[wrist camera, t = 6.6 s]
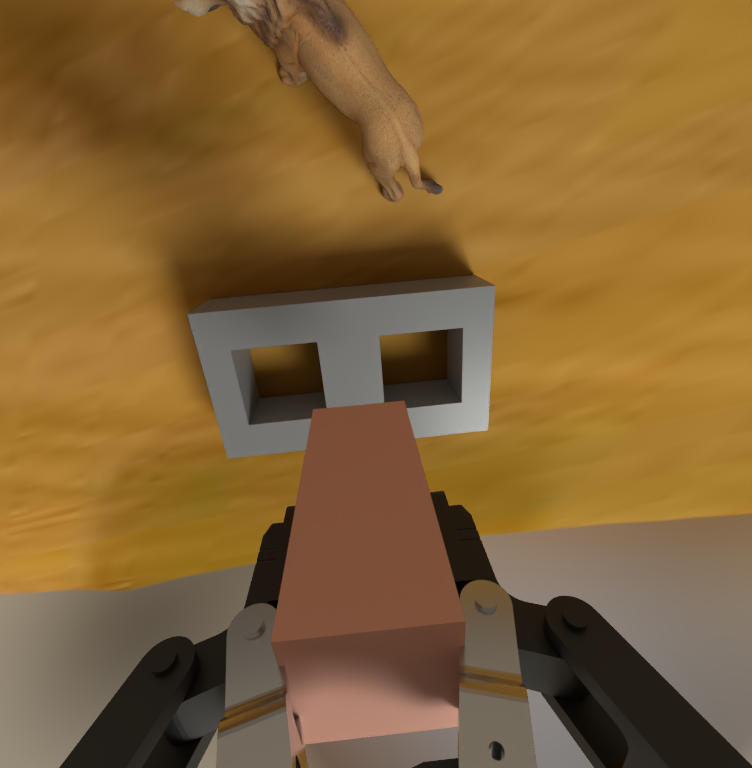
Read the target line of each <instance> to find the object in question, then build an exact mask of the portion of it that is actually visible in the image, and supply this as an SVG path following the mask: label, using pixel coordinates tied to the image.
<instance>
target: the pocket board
mask: <svg viewBox="0 0 752 768" xmlns="http://www.w3.org/2000/svg"><path fill="white" fill-rule="evenodd" d="M494 303H495V285H493V284H491V283H489V282H487V281H485V280H483V279H481V278H480V277H478V276H476V275H468V276H457V277H446V278H435V279H424V280H414V281H403V282H392V283H381V284H370V285H359V286H348V287H337V288H326V289H316V290H305V291H294V292H283V293H272V294H261V295H250V296H239V297H228V298H218V299H208V300H207V301H205V302H204V303H203V304H201V305H200V306H198V307H197V308H195V309H194V310H193V311H191V312H190V313H188V314H187V315H188V319H189V323H190V326H191V330H192V333H193V337H194V340H195V344H196V347H197V351H198V354H199V358H200V362H201V365H202V369H203V372H204V376H205V379H206V383H207V386H208V390H209V393H210V397H211V400H212V404H213V408H214V411H215V415H216V418H217V422H218V425H219V429H220V432H221V436H222V439H223V443H224V447H225V450H226V454H227V457H228V459H229V458H238V457H247V456H256V455H265V454H274V453H283V452H293V451H302V450H306V446H307V440H308V435H309V429H310V424H311V418H312V413H313V409H322V408H332V407H343V406H353V405H364V404H374V403H385V402H395V401H405V405H406V408H407V412H408V416H409V419H410V423H411V426H412V430H413V434H414V437H415V438H420V437H429V436H438V435H447V434H457V433H466V432H475V431H484V430H488V419H489V399H490V380H491V361H492V342H493V323H494ZM445 329H447V379H440V380H430V381H420V382H411V383H401V384H391V385H383V379H382V365H381V352H380V338H379V336H384V335H394V334H404V333H415V332H425V331H435V330H445ZM312 342H317V345H318V352H319V359H320V366H321V373H322V380H323V387H324V392H314V393H304V394H295V395H285V396H275V397H266V398H260V396H259V391H258V387H257V382H256V378H255V373H254V369H253V364H252V360H251V355H250V351H249V349H251V348H261V347H271V346H282V345H292V344H302V343H312Z"/></svg>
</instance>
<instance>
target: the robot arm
mask: <svg viewBox="0 0 752 768" xmlns="http://www.w3.org/2000/svg"><path fill="white" fill-rule="evenodd" d="M430 495H431V498H432V502H433V505H434V509H435V513H436V516H437V520H438V523H439V527H440V531H441V534H442V538H443V541H444V545H445V549H446V552H447V556H448V559H449V563H450V567H451V570H452V574H453V577H454V581H455V585H456V588H457V592H458V595H459V599H460V603H461V606H462V610H463V613H464V617H465V621H466V627H465V646H459V698H458V758H456V759H447V760H438V761H429V762H423V763H421V764H419V765H417V766H415V767H413V768H537V764H536V756H535V748H534V740H533V733H532V725H531V717H530V710H529V702H528V696H527V691H526V689H530V690H534V691H538V692H541V694H542V695H543V697H544V698H545V699H546V701H547V702H548V704H549V705H550V706H551V708H552V709H553V711H554V712H555V713H556V715H557V716H558V718H559V719H560V720H561V722H562V723H563V725H564V726H565V727H566V729H567V730H568V731H569V733H570V734H571V736H572V737H573V739H574V740H575V741H576V743H577V744H578V746H579V747H580V748H581V750H582V751H583V753H584V754H585V755H586V757H587V758H588V760H589V761H590V762H591V764H592V765H593V766H594V768H752V765H751V764H750V763H749V762H748V761H746V760H745V758H743V756H742V755H741V754H740V753H739V752H738V751H737V750H736V749H735V748H734V747H732V746H731V744H730V743H729V742H727V741H726V739H725V738H724V737H723V736H722V735H720V733H718V731H716V730H715V729H714V728H713V727H712V726H711V725H710V724H709V723H708V722H707V721H706V720H705V719H704V718H703V717H702V716H701V715H700V714H699V713H698V712H697V711H696V710H695V709H694V708H693V707H692V706H691V705H690V704H689V703H688V702H687V701H686V700H685V699H684V698H683V697H682V696H681V695H680V694H679V693H678V692H677V691H676V690H675V689H674V688H673V687H672V686H671V685H670V684H669V683H668V682H667V681H666V680H665V679H664V678H663V677H662V676H661V675H660V674H659V673H658V672H657V671H656V670H655V669H654V668H653V667H652V666H651V665H650V664H649V663H648V662H647V661H646V660H645V659H644V658H643V657H642V656H641V655H640V654H639V653H638V652H637V651H636V650H635V649H634V648H633V647H632V646H631V645H630V644H629V643H628V642H627V641H626V640H625V639H624V638H623V637H622V636H621V635H620V634H619V633H618V632H617V631H616V630H615V629H614V628H613V627H612V626H611V625H610V624H609V623H608V622H607V621H606V620H605V619H604V618H603V617H602V616H601V615H600V614H599V613H598V612H597V611H596V610H595V609H593V607H592V606H590V605H589V604H588V603H586V602H584V601H582V600H580V599H578V598H575V597H571V596H559V597H556V598H553V599H552V600H551V601H550V602H549V603H548V604H547V606H543V605H538V604H533V603H528V602H524V601H521V600H518V599H516V598H514V597H512V596H511V595H509V594H508V593H507V592H506V591H505V590H504V589H503V588H502V587H501V586H500V585H499V583H498V582H497V580H496V577H495V575H494V572H493V570H492V567H491V565H490V562H489V559H488V557H487V554H486V552H485V549H484V547H483V544H482V542H481V540H480V536H479V534H478V531H477V530H476V526H475V524H474V521H473V518H472V516H471V514H470V513H469V512H468V511H467V510H466V509H465V508H464V507H463V506H462V505H454V506H449V505H448V502H447V499H446V496H445V493H444V491H438V492H430ZM294 512H295V506H288V507H287V509H286V513H285V518H284V523H275V524H272V525H271V526H270V528H269V529H268V530H267V532H266V533H265V534H264V536H263V539H262V543H261V546H260V552H259V554H258V558H257V564H256V566H255V569H254V573H253V577H252V581H251V585H250V589H249V592H248V596H247V600H246V604H245V607H244V609H243V610H242V611H241V612H239V613H238V614H237V615H236V616H235V618H234V619H233V620H232V622H231V624H230V626H229V628H228V629H227V630H225V631H224V632H222V633H220V634H218V635H216V636H214V637H211V638H209V639H207V640H204V641H202V642H199V643H197V644H195V645H193V643H192V642H191V641H190V640H189V639H188V638H186V637H182V636H176V637H171V638H169V639H166V640H164V641H162V642H160V643H158V644H157V645H156V646H154V647H153V648H152V649H151V650H150V651H149V652H148V653H147V654H146V655H145V656H144V657H143V658H142V660H141V661H140V662H139V664H138V665H137V666H136V668H135V669H134V670H133V672H132V673H131V674H130V676H129V677H128V678H127V680H126V681H125V682H124V683H123V685H122V686H121V687H120V689H119V690H118V691H117V693H116V694H115V695H114V697H113V698H112V699H111V701H110V702H109V703H108V705H107V706H106V707H105V709H104V710H103V711H102V713H101V714H100V715H99V716H98V718H97V719H96V720H95V722H94V723H93V724H92V726H91V727H90V728H89V730H88V731H87V732H86V733H85V735H84V736H83V737H82V739H81V740H80V742H79V743H78V744H77V745H76V747H75V748H74V749H73V751H72V752H71V753H70V755H69V756H68V757H67V758H66V760H65V761H64V762H63V764H62V765H61V766H60V768H197V767H198V765H199V762H200V761H201V759H202V757H203V755H204V753H205V751H206V749H207V747H208V745H209V743H210V741H211V739H212V737H213V736H214V734H215V732H216V730H217V728H218V735H217V762H216V768H309V767H308V762H307V757H306V751H305V743H304V735H303V728H302V724H301V720H300V717H299V716H296V717H294V716H293V710H292V704H291V697H290V688H289V679H288V675H287V672H286V668H285V666H278V665H277V662H276V658H275V655H274V652H273V648H272V645H271V638H272V633H273V627H274V622H275V616H276V611H277V605H278V600H279V594H280V589H281V583H282V578H283V572H284V567H285V561H286V556H287V550H288V545H289V539H290V534H291V528H292V523H293V517H294Z"/></svg>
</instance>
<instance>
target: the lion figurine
mask: <svg viewBox="0 0 752 768" xmlns="http://www.w3.org/2000/svg"><path fill="white" fill-rule="evenodd" d="M173 1H174V2H175V4H176V5H177V6H178V7H179V8H180V9H182V10H185V11H188V12H189V13H190V14H192V15H194V16H203V15H205V14H206V13H207V12H210V11H212V10H215V9H217V8H218V7H219V6H221V5H225V4H226V5H228V6H229V8H230V10H231V11H232V12H233V14H234V16H235V17H236V18H237V19H238V20H239V21H240V22H241V23H242V24H244V25H249V26H250V28H251V29H252V30H253V31H254V33H255V34H256V36H258V37H260V39H261V40H262V41H263V42H264V44H265V45H266V46H268V47H270V48H272V49H274V51H275V54H276V57H277V58H278V60H279V62H280V70H279V74H280V76H281V79H282V82H283V83H284V84H286V85H289V86H299V85H300V84H302V82H303V81H305V80H306V79H307V75H308V77H309V78H310V80H311V81H312V82H313V83H314V84H315V86H316V87H317V88H318V89H319V90H320V91H321V93H322V94H323V95H324V96H326V97H327V98H328V99H329V100H330V101H331V102H332V103H333V104H334V105H335V106H336V107H337V108H338V109H339V110H340V111H341V112H342V113H343V114H344V115H346V116H347V117H348V118H350V119H351V120H352V121H354V122H355V123H356V124H357V125H358V127H359V128H360V130H361V133H362V151H363V155H364V158H365V160H366V162H367V166H368V168H369V170H370V171H371V173H372V174H373V176H374V177H375V178H376V179H377V180H378V181H379V182H380V183H381V185H382V195H383V197H384V198H385V199H387V200H388V201H391V202H397V201H399V200H400V199H401V198H402V197H403V195H404V193H403V189H402V187H401V185H400V184H399V183H398V182H397V181H396V180H395V179H394V175H395V174H396V172H397V171H398V170H399V168H400V167H404V168H405V170H406V171H407V172H408V174H409V177H410V181H411V184H412V186H413V187H414V188H415V189H425V190H426V191H427V192H428V193H434V194H440V193H441V192H442V190H443V188H442V186H440V185H439V184H437V183H435V182H434V181H433V180H431V179H428V180H423V179H421V174H420V166H419V158H418V154H417V151H418V149H419V148H420V146H421V143H422V139H423V123H422V119H421V115H420V113H419V110H418V108H417V105H416V104H415V102H414V101H413V100H412V99H411V97H410V96H409V95H408V93H407V92H406V91H405V89H404V88H403V87H402V86H401V85H400V84H399V83H398V82H397V81H396V80H395V79H394V77H393V76H392V75H391V73H390V72H389V70H388V69H387V67H386V65H385V64H384V62H383V60H382V58H381V57H380V55H379V53H378V51H377V50H376V48H375V46H374V44H373V42H372V41H371V39H370V37H369V35H368V33H367V32H366V30H365V28H364V27H363V26H362V24H361V23H360V22H359V20H358V19H357V17H356V16H355V15H354V13H353V12H352V10H351V9H350V8H349V7H348V6H347V5H346V4H345V2H344V1H343V0H173ZM306 74H307V75H306Z"/></svg>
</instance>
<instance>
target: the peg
mask: <svg viewBox="0 0 752 768" xmlns="http://www.w3.org/2000/svg"><path fill="white" fill-rule="evenodd" d="M465 627H466V621H465V617H464V613H463V610H462V606H461V603H460V599H459V595H458V592H457V588H456V585H455V581H454V577H453V574H452V570H451V567H450V563H449V559H448V556H447V552H446V549H445V545H444V541H443V538H442V534H441V531H440V527H439V523H438V520H437V516H436V513H435V509H434V505H433V502H432V498H431V495H430V491H429V488H428V484H427V480H426V477H425V473H424V470H423V466H422V462H421V459H420V455H419V452H418V448H417V444H416V441H415V437H414V434H413V430H412V426H411V423H410V419H409V416H408V412H407V408H406V405H405V401H395V402H385V403H374V404H364V405H353V406H343V407H332V408H322V409H313V413H312V418H311V424H310V429H309V435H308V440H307V446H306V451H305V457H304V462H303V468H302V473H301V479H300V484H299V490H298V495H297V501H296V506H295V512H294V517H293V523H292V528H291V534H290V539H289V545H288V550H287V556H286V561H285V567H284V572H283V578H282V583H281V589H280V594H279V600H278V605H277V611H276V616H275V622H274V627H273V633H272V638H271V645H272V648H273V652H274V655H275V658H276V662H277V665H278V666H285V668H286V672H287V675H288V679H289V688H290V697H291V704H292V710H293V716H294V717H296V716H299V717H300V720H301V724H302V728H303V735H304V743H305V744H311V743H320V742H328V741H337V740H346V739H354V738H363V737H372V736H381V735H389V734H398V733H406V732H415V731H424V730H432V729H441V728H450V727H458V698H459V646H465Z"/></svg>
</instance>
